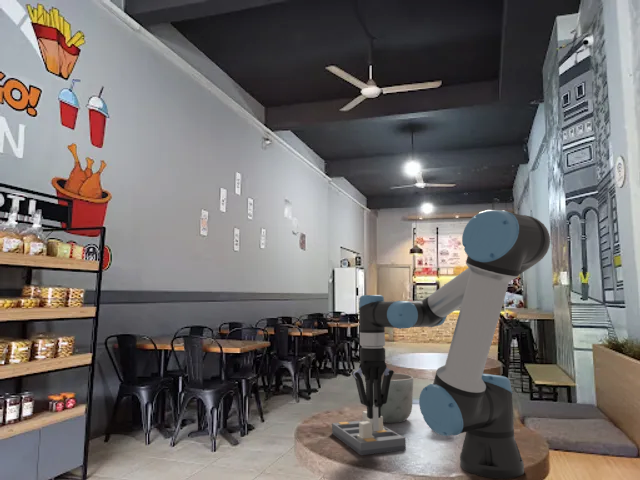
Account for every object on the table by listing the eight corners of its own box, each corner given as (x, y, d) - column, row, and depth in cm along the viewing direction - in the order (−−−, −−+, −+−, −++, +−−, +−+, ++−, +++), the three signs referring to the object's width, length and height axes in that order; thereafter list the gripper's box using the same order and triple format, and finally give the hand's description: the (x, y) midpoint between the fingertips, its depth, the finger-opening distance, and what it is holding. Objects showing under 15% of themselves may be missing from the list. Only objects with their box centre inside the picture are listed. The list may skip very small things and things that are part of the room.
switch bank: (405, 449, 127) (405, 437, 128) (361, 455, 122) (360, 442, 123) (371, 429, 148) (371, 418, 148) (332, 433, 143) (332, 422, 143)
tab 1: (376, 430, 141) (376, 412, 142) (365, 432, 140) (364, 413, 141) (371, 428, 144) (371, 410, 145) (360, 429, 143) (360, 411, 144)
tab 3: (385, 436, 135) (385, 416, 136) (373, 437, 134) (373, 417, 135) (380, 433, 139) (380, 414, 139) (368, 434, 137) (368, 415, 138)
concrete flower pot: (412, 428, 150) (411, 381, 152) (362, 424, 154) (362, 378, 156) (416, 416, 166) (415, 373, 168) (371, 413, 170) (370, 372, 173)
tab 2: (374, 444, 128) (374, 423, 128) (361, 445, 126) (361, 424, 127) (369, 440, 131) (369, 420, 132) (356, 442, 129) (356, 422, 130)
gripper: (385, 345, 139) (387, 424, 136) (347, 346, 135) (348, 428, 131) (397, 347, 132) (400, 430, 129) (358, 348, 128) (359, 435, 124)
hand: (374, 429), depth 130 cm, fingers closed
